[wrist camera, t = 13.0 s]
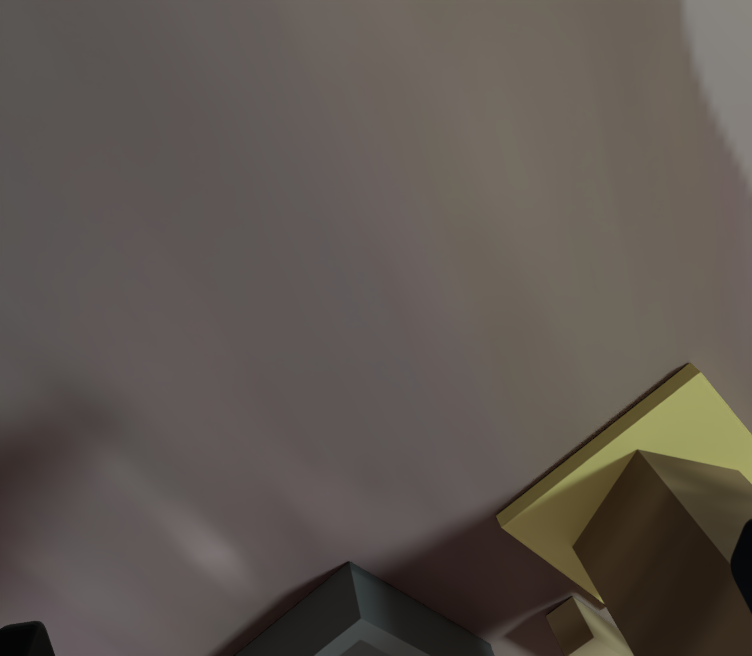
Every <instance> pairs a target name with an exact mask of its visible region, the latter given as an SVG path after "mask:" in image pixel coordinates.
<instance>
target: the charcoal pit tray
mask: <svg viewBox="0 0 752 656" xmlns="http://www.w3.org/2000/svg"><path fill="white" fill-rule="evenodd" d="M235 656H494V653H493V651H492V648H491V645H490V644H489V643H487V642H485V641H484V640H482V639H480V638H479V637H477V636H475V635H474V634H472V633H470V632H468V631H467V630H465V629H463V628H462V627H460V626H458V625H457V624H455V623H453V622H451V621H450V620H448V619H446V618H445V617H443V616H441V615H440V614H438V613H436V612H434V611H433V610H431V609H429V608H428V607H426V606H424V605H423V604H421V603H419V602H418V601H416V600H414V599H412V598H411V597H409V596H407V595H406V594H404V593H402V592H401V591H399V590H397V589H395V588H394V587H392V586H390V585H389V584H387V583H385V582H384V581H382V580H380V579H378V578H377V577H375V576H373V575H372V574H370V573H368V572H367V571H365V570H363V569H361V568H360V567H358V566H356V565H355V564H353V563H351V562H350V561H349V562H348V563H347V564H346V565H344V566H343V567H342V568H341V569H340V570H338V571H337V572H336V573H335V574H334V575H332V576H331V577H330V578H329V579H327V580H326V581H325V582H324V583H323V584H321V585H320V586H319V587H318V588H316V589H315V590H314V591H313V592H312V593H310V594H309V595H308V596H307V597H305V598H304V599H303V600H302V601H301V602H299V603H298V604H297V605H296V606H295V607H293V608H292V609H291V610H290V611H288V612H287V613H286V614H285V615H284V616H282V617H281V618H280V619H279V620H277V621H276V622H275V623H274V624H273V625H271V626H270V627H269V628H268V629H266V630H265V631H264V632H263V633H262V634H260V635H259V636H258V637H257V638H255V639H254V640H253V641H252V642H251V643H249V644H248V645H247V646H246V647H245V648H243V649H242V650H241V651H240V652H238V653H237V654H236V655H235Z"/></svg>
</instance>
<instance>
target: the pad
mask: <svg viewBox="0 0 752 656" xmlns="http://www.w3.org/2000/svg"><path fill="white" fill-rule="evenodd" d="M637 449H639V450H644V451H648V452H653V453H658V454H663V455H667V456H672V457H677V458H682V459H686V460H691V461H696V462H701V463H706V464H710V465H715V466H720V467H725V468H729V469H734V470H739V471H740V472H741V473H742V474H743V475H744V476H745V478H746V479H747V480H748V481H749V482H750V483H751V484H752V435H751V433H750V432H749V431H748V430H747V429H746V427H745V426H744V425H743V424H742V422H741V421H740V420H739V419H738V417H737V416H736V415H735V414H734V413H733V411H732V410H731V409H730V408H729V406H728V405H727V404H726V403H725V401H724V400H723V399H722V398H721V397H720V395H719V394H718V393H717V392H716V390H715V389H714V388H713V387H712V385H711V384H710V383H709V382H708V381H707V379H706V378H705V377H704V376H703V374H702V373H701V372H700V371H699V370H698V369H697V368H696V367H695V366H693V365H692V364H691V363H689V364H688V365H687V366H685V367H684V368H683V369H682V370H680V371H679V372H678V373H677V374H675V375H674V376H673V377H671V378H670V379H669V380H668V381H666V382H665V383H664V384H663V385H661V386H660V387H659V388H657V389H656V390H655V391H654V392H652V393H651V394H650V395H649V396H647V397H646V398H645V399H644V400H642V401H641V402H640V403H638V404H637V405H636V406H635V407H633V408H632V409H631V410H630V411H628V412H627V413H626V414H625V415H623V416H622V417H621V418H619V419H618V420H617V421H616V422H614V423H613V424H612V425H611V426H609V427H608V428H607V429H606V430H604V431H603V432H602V433H600V434H599V435H598V436H597V437H595V438H594V439H593V440H592V441H590V442H589V443H588V444H587V445H585V446H584V447H583V448H581V449H580V450H579V451H578V452H576V453H575V454H574V455H573V456H571V457H570V458H569V459H567V460H566V461H565V462H564V463H562V464H561V465H560V466H559V467H557V468H556V469H555V470H554V471H552V472H551V473H550V474H548V475H547V476H546V477H545V478H543V479H542V480H541V481H540V482H538V483H537V484H536V485H535V486H533V487H532V488H531V489H529V490H528V491H527V492H526V493H524V494H523V495H522V496H521V497H519V498H518V499H517V500H516V501H514V502H513V503H512V504H510V505H509V506H508V507H507V508H505V509H504V510H503V511H502V512H500V513H499V514H498V515H497V516H496V518H497V520H498V522H499V524H500V526H501V528H502V529H504V530H505V531H506V532H508V533H509V534H510V535H512V536H513V537H514V538H516V539H517V540H519V541H520V542H521V543H523V544H524V545H525V546H527V547H528V548H529V549H531V550H532V551H533V552H535V553H536V554H537V555H539V556H540V557H542V558H543V559H544V560H546V561H547V562H548V563H550V564H551V565H552V566H554V567H555V568H556V569H558V570H559V571H560V572H562V573H563V574H565V575H566V576H567V577H569V578H570V579H571V580H573V581H574V582H575V583H577V584H578V585H579V586H581V587H582V588H583V589H585V590H586V591H588V592H589V593H590V594H592V595H593V596H594V597H596V598H597V599H598V600H600V601H601V602H602V603H604V602H603V600H602V599H601V597H600V595H599V593H598V592H597V590H596V588H595V586H594V585H593V583H592V581H591V579H590V578H589V576H588V574H587V572H586V571H585V569H584V567H583V565H582V564H581V562H580V560H579V558H578V557H577V555H576V553H575V551H574V550H573V548H572V546H573V545H574V543H575V542H576V540H577V539H578V537H579V536H580V534H581V533H582V531H583V530H584V529H585V527H586V526H587V524H588V523H589V521H590V520H591V518H592V517H593V515H594V514H595V512H596V511H597V509H598V508H599V506H600V505H601V503H602V502H603V500H604V499H605V497H606V496H607V494H608V493H609V491H610V490H611V488H612V487H613V485H614V484H615V482H616V481H617V479H618V478H619V476H620V475H621V473H622V472H623V470H624V469H625V467H626V466H627V464H628V463H629V461H630V460H631V458H632V457H633V455H634V454H635V452H636V451H637Z"/></svg>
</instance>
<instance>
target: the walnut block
mask: <svg viewBox="0 0 752 656" xmlns="http://www.w3.org/2000/svg"><path fill="white" fill-rule="evenodd" d="M751 518H752V484H751V483H750V482H749V481H748V480H747V479H746V478H745V476H744V475H743V474H742V473H741V472H740V471H739V470H734V469H729V468H725V467H720V466H715V465H710V464H706V463H701V462H696V461H691V460H686V459H682V458H677V457H672V456H667V455H663V454H658V453H653V452H648V451H644V450H639V449H637V451H636V452H635V454H634V455H633V457H632V458H631V460H630V461H629V463H628V464H627V466H626V467H625V469H624V470H623V472H622V473H621V475H620V476H619V478H618V479H617V481H616V482H615V484H614V485H613V487H612V488H611V490H610V491H609V493H608V494H607V496H606V497H605V499H604V500H603V502H602V503H601V505H600V506H599V508H598V509H597V511H596V512H595V514H594V515H593V517H592V518H591V520H590V521H589V523H588V524H587V526H586V527H585V529H584V530H583V531H582V533H581V534H580V536H579V537H578V539H577V540H576V542H575V543H574V545H573V546H572V548H573V550H574V551H575V553H576V555H577V557H578V558H579V560H580V562H581V564H582V565H583V567H584V569H585V571H586V572H587V574H588V576H589V578H590V579H591V581H592V583H593V585H594V586H595V588H596V590H597V592H598V593H599V595H600V597H601V599H602V600H603V602H604V604H605V606H606V607H607V609H608V611H609V613H610V614H611V616H612V618H613V620H614V621H615V623H616V625H617V627H618V628H619V630H620V632H621V634H622V635H623V637H624V639H625V641H626V642H627V644H628V646H629V648H630V649H631V651H632V653H633V655H634V656H752V614H751V612H750V610H749V608H748V606H747V604H746V602H745V600H744V598H743V596H742V594H741V593H740V591H739V589H738V587H737V585H736V583H735V581H734V579H733V576H732V573H731V569H730V559H731V556H732V553H733V551H734V548H735V546H736V543H737V541H738V538H739V536H740V534H741V531H742V529H743V526H744V524H745V523H746V522H747V521H748V520H749V519H751Z"/></svg>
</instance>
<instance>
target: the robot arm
mask: <svg viewBox="0 0 752 656" xmlns="http://www.w3.org/2000/svg"><path fill="white" fill-rule="evenodd" d="M730 569H731V573H732V576H733V579H734V581H735V583H736V585H737V587H738V589H739V591H740V593H741V594H742V596H743V598H744V600H745V602H746V604H747V606H748V608H749V610H750V612H751V614H752V518H751V519H749V520H748V521H747V522H746V523H745V524H744V526H743V529H742V531H741V534H740V536H739V538H738V541H737V543H736V546H735V548H734V551H733V553H732V556H731V559H730ZM0 656H55V654H54V651H53V648H52V645H51V642H50V639H49V636H48V633H47V630H46V628H45V626H44V624H43V623H42V622H40V621H31V622H24V623H17V624H10V625H7V626H4V627H3V628H1V629H0Z"/></svg>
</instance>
